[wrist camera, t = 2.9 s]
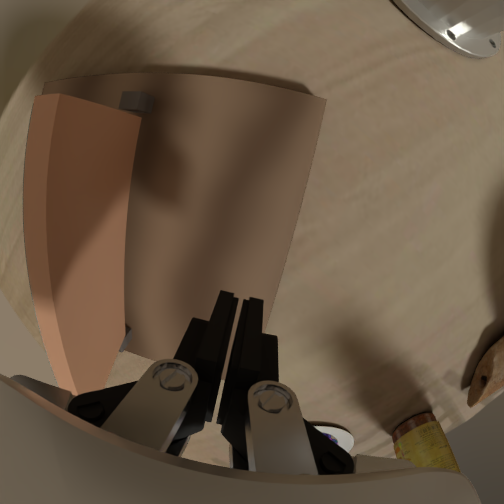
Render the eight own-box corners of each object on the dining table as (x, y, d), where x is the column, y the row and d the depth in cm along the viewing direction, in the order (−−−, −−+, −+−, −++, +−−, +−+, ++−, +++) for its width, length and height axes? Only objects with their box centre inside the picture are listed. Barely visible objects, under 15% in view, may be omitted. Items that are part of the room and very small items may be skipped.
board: (322, 104, 14) (334, 91, 11) (248, 372, 20) (245, 401, 17) (56, 84, 14) (29, 79, 11) (49, 304, 20) (29, 321, 17)
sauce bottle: (381, 433, 23) (409, 571, 5) (424, 404, 22) (473, 544, 3) (403, 442, 24) (431, 558, 6) (441, 416, 23) (484, 533, 4)
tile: (60, 93, 5) (30, 96, 4) (90, 426, 9) (70, 419, 9) (141, 117, 12) (121, 116, 12) (125, 334, 17) (110, 331, 17)
